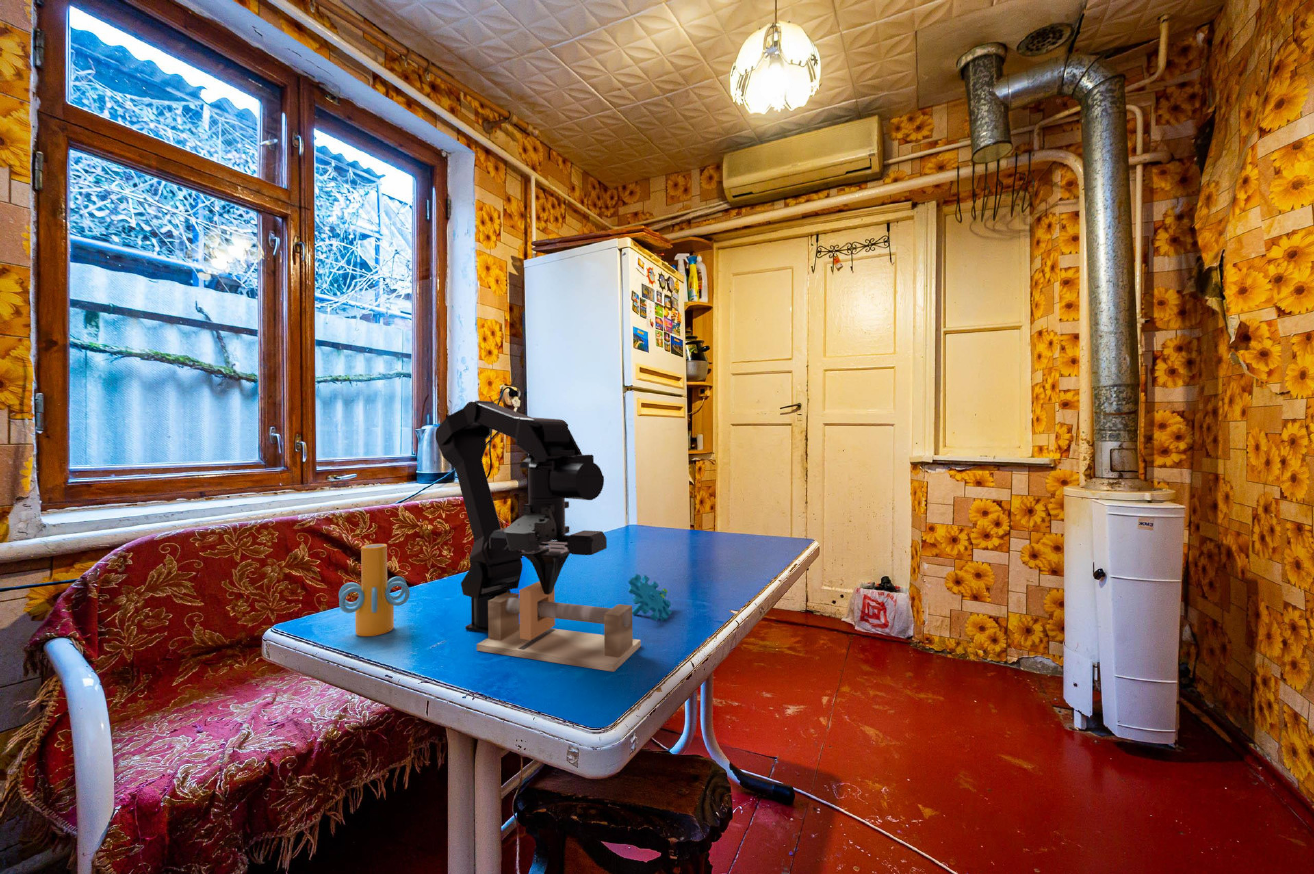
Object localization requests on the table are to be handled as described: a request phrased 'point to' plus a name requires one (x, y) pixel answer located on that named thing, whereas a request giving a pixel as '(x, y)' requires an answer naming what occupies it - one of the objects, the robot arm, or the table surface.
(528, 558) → the robot arm
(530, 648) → the pipe rig
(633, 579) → the gear
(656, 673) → the table surface
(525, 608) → the collar
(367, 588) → the cylinder
